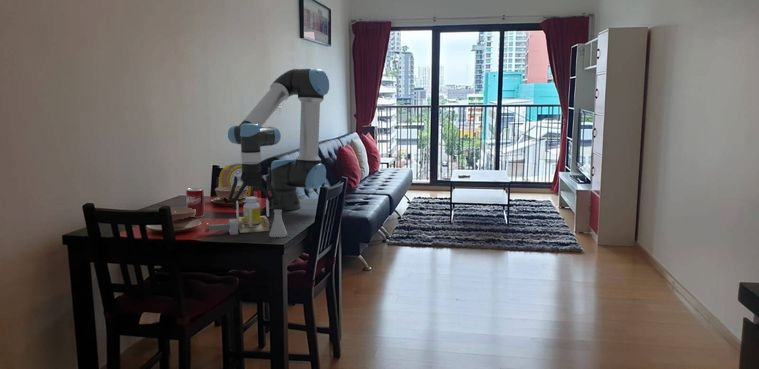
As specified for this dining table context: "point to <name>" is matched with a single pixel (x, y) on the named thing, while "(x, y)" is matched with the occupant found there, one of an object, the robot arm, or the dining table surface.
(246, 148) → the robot arm
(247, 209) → the pill bottle
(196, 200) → the soda can
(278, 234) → the flask
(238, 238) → the dining table surface
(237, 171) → the alarm clock
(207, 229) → the lock pin
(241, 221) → the dock
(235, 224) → the pin mount
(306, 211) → the dining table surface
